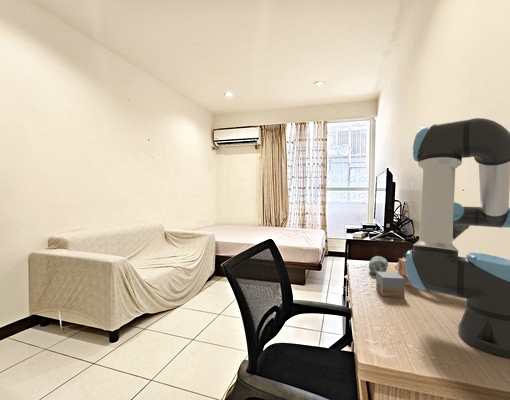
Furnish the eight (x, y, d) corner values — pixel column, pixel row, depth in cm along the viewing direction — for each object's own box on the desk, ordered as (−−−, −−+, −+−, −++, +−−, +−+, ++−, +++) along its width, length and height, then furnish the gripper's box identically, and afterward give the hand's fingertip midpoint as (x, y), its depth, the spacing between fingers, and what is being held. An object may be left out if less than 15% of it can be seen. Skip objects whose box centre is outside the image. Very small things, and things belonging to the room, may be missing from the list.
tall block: (415, 286, 114) (415, 261, 113) (403, 285, 114) (403, 261, 114) (409, 282, 119) (410, 258, 118) (398, 281, 119) (398, 258, 119)
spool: (390, 272, 124) (380, 252, 128) (371, 278, 128) (362, 258, 132) (394, 272, 134) (385, 253, 139) (376, 277, 138) (368, 259, 143)
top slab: (404, 288, 101) (404, 278, 101) (382, 287, 102) (382, 277, 102) (396, 281, 109) (396, 272, 109) (376, 280, 110) (376, 271, 110)
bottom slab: (404, 298, 101) (404, 288, 101) (382, 297, 102) (382, 287, 102) (396, 291, 109) (396, 281, 109) (376, 290, 110) (376, 280, 110)
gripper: (463, 253, 102) (421, 289, 104) (429, 241, 126) (396, 271, 129) (448, 239, 102) (407, 275, 105) (418, 230, 127) (385, 260, 129)
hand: (401, 273), depth 117 cm, fingers open, 13 cm apart
